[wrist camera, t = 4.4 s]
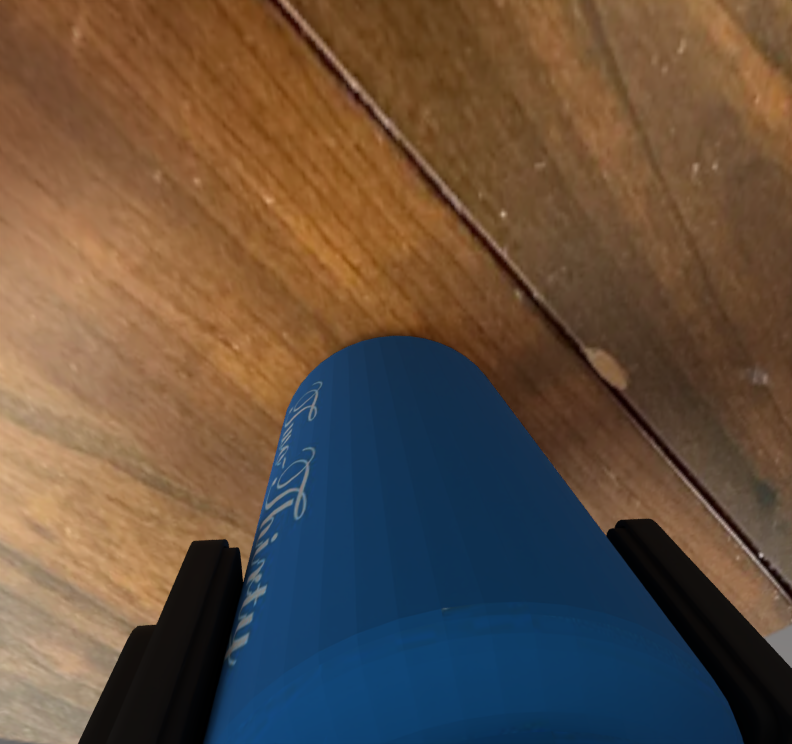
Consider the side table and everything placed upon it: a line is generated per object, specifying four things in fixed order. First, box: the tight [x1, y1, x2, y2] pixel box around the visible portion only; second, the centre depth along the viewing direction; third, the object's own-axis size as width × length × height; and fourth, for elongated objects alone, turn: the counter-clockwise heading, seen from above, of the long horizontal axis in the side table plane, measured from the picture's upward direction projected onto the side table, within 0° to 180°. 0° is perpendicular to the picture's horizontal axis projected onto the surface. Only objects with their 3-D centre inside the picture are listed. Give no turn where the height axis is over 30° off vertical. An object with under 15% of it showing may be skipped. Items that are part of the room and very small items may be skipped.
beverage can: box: [203, 336, 744, 744], centre depth 11 cm, size 6×6×12 cm
